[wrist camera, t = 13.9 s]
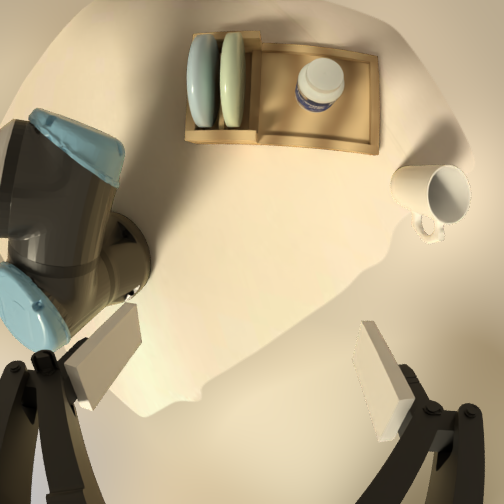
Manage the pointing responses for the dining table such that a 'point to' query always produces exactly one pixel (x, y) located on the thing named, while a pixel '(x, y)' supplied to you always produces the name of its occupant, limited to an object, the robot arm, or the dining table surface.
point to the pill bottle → (319, 85)
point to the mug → (432, 196)
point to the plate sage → (233, 79)
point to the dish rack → (287, 108)
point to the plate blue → (204, 80)
